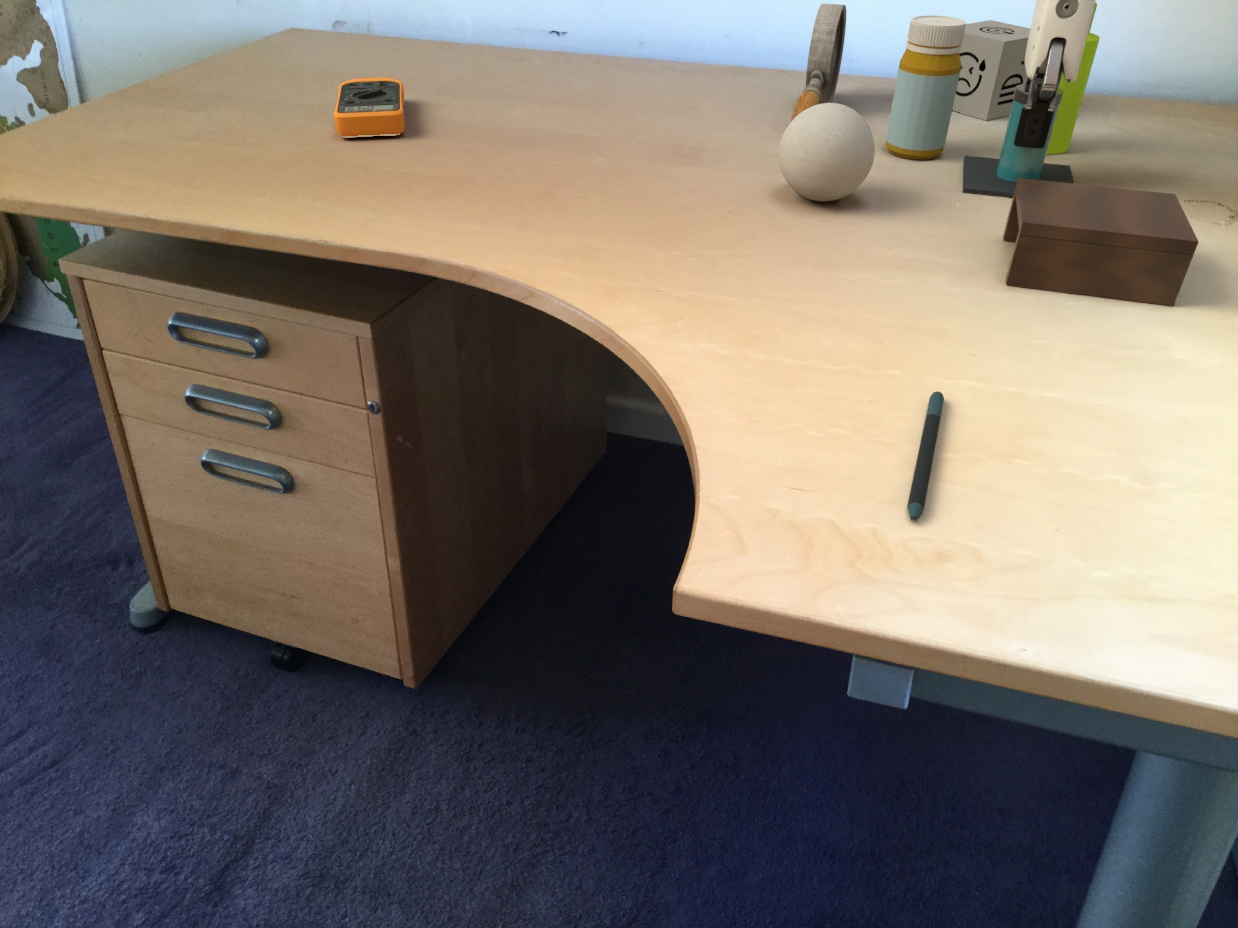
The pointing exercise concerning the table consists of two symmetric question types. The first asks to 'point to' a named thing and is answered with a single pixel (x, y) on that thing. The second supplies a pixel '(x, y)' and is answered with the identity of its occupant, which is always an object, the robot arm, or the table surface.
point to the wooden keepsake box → (1098, 241)
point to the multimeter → (370, 107)
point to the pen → (925, 456)
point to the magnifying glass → (823, 57)
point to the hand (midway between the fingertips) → (1027, 137)
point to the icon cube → (990, 68)
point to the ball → (826, 152)
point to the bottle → (925, 87)
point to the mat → (985, 181)
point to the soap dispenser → (1072, 97)
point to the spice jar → (1023, 159)
